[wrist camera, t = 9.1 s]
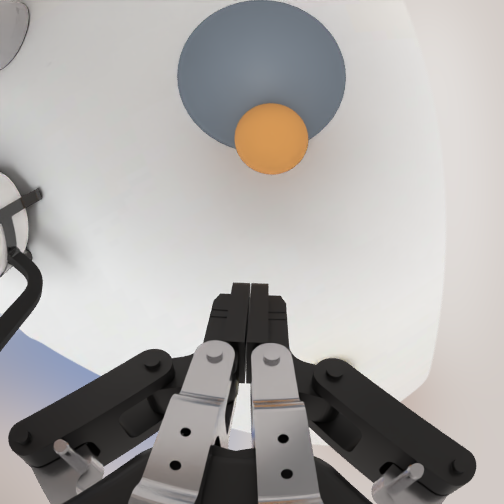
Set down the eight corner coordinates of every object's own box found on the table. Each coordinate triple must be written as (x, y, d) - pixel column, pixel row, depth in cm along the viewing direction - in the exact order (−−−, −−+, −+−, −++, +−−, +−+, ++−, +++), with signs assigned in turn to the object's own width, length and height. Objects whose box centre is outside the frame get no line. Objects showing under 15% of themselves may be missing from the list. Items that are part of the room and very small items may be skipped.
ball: (237, 117, 17) (247, 84, 20) (223, 179, 21) (233, 139, 24) (322, 140, 18) (315, 103, 21) (295, 196, 22) (294, 154, 25)
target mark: (179, 152, 24) (178, 153, 24) (180, 5, 18) (179, 5, 18) (340, 157, 24) (341, 157, 24) (344, 8, 17) (345, 8, 17)
